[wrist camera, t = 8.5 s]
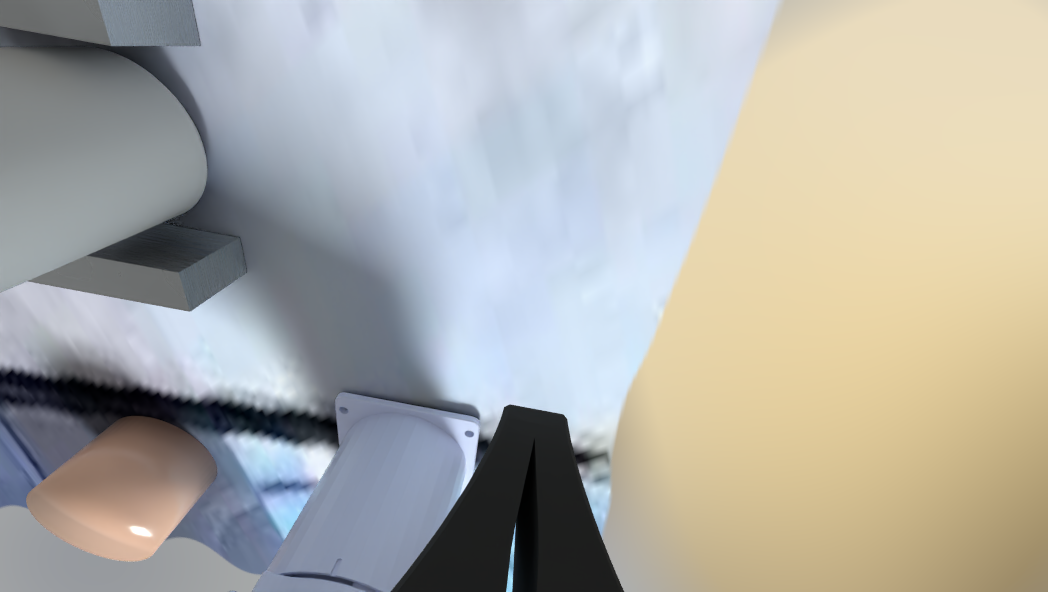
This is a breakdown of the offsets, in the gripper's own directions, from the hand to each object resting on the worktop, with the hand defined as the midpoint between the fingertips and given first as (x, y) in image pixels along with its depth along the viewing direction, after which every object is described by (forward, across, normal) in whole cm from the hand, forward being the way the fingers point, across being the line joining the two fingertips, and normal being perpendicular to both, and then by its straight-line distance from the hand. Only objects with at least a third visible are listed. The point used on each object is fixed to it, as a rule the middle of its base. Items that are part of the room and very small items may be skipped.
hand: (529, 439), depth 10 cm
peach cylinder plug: (+10, +22, +19) cm, 31 cm away
